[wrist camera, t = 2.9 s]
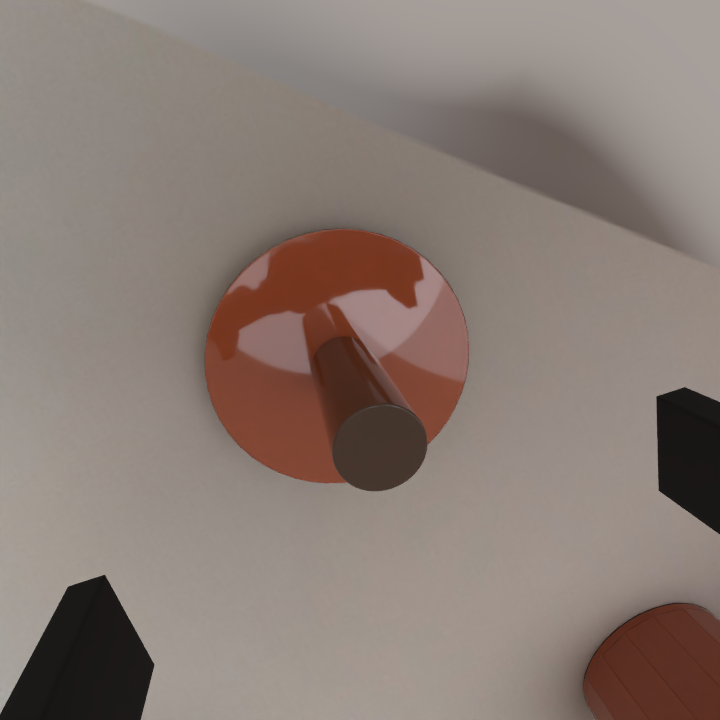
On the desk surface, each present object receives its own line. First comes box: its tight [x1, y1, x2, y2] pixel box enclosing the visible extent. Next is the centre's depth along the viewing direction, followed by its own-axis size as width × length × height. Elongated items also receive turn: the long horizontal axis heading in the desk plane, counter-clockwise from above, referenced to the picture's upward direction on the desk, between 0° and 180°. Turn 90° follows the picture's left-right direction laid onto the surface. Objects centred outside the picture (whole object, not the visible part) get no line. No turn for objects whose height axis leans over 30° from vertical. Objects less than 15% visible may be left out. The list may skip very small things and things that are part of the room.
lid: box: [205, 229, 469, 491], centre depth 19 cm, size 12×12×9 cm
